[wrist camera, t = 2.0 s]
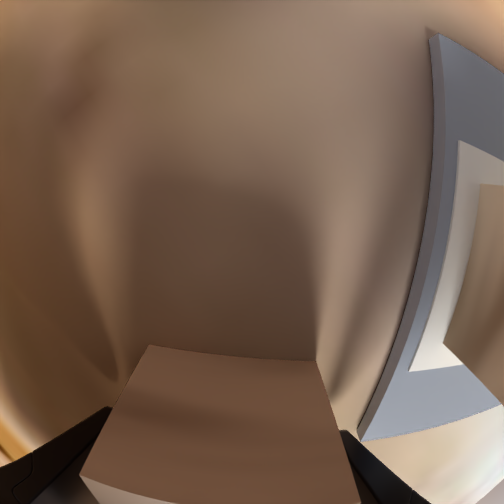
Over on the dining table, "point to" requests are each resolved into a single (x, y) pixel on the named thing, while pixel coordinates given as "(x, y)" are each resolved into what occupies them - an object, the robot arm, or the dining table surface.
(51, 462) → the robot arm
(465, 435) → the dining table surface
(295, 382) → the walnut block
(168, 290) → the dining table surface
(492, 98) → the board
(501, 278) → the beech block
